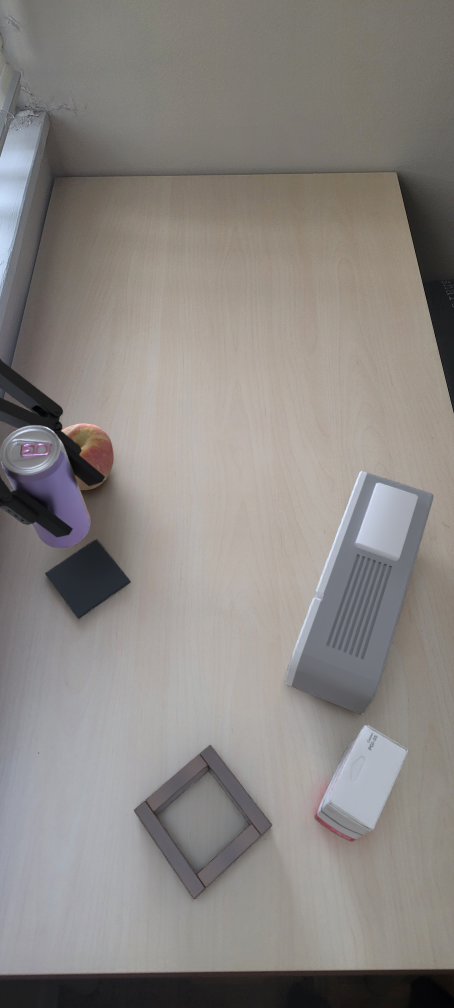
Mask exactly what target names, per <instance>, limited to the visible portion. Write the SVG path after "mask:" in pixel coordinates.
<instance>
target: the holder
mask: <svg viewBox="0 0 454 1008" xmlns="http://www.w3.org/2000/svg"><path fill="white" fill-rule="evenodd" d="M208 772H210V774H211V776H213V778H214V779H215V781H216V782H217V783H218V784H219V785H220V787H221V789H223V791H224V792H225V793H226V795H227V796H228V798H229V799H230V800H231V802H232V803H233V804H234V806H235V807H236V809H237V810H238V811H239V812H240V814H241V815H242V816H243V818H244V819H245V820H246V822H247V823H248V824H249V825H248V826H247V827H246V828H244V830H243V831H241V833H239V834H238V835H237V836H236V837H235V838H234V839H233V840H232V841H231V842H229V844H227V845H226V846H225V847H224V848H223V849H222V850H221V851H219V853H218V854H217V855H216V856H215V857H213V858H212V859H211V860H210V861H209V862H208V863H207V864H205V866H204V867H203V868H202V869H201V870H199V872H198V873H197V872H196V870H195V869H194V868H193V866H192V864H191V863H190V861H189V860H188V859H187V858H186V856H185V854H184V853H183V852H182V850H181V849H180V847H179V845H178V844H177V843H176V841H175V840H174V839H173V837H172V835H171V834H170V833H169V831H168V829H166V827H165V826H164V824H163V822H162V821H161V820H160V818H159V817H158V816H159V814H161V813H162V812H163V811H164V810H165V809H166V808H168V807H169V806H170V805H171V804H172V803H173V802H174V801H176V800H177V799H178V798H179V797H180V796H181V795H183V794H184V793H185V792H186V791H187V790H188V789H189V788H191V787H192V786H193V785H194V784H195V783H196V782H198V781H199V780H200V779H201V778H202V777H203V776H205V774H207V773H208ZM133 812H134V814H135V815H136V816H137V818H138V819H139V821H140V823H141V825H143V827H144V828H145V830H146V831H147V832H148V834H149V836H150V837H151V838H152V840H153V841H154V843H155V844H156V846H157V847H158V849H159V850H160V852H161V854H162V855H163V856H164V858H165V860H166V861H167V862H168V864H169V865H170V867H171V868H172V869H173V871H174V873H175V875H176V876H177V878H178V879H179V880H180V882H181V883H182V884H183V886H184V888H185V889H186V891H187V892H188V893H189V895H190V896H191V898H192V899H193V900H197V899H198V897H200V896H201V895H202V894H203V893H204V892H205V891H206V890H207V889H208V888H209V887H210V886H212V884H214V883H215V882H216V881H217V880H218V879H219V878H220V877H221V876H223V874H225V872H226V871H227V870H229V869H230V867H232V866H233V865H234V864H235V863H236V862H237V861H238V860H239V859H240V858H241V857H242V856H243V855H244V854H245V853H247V851H248V850H250V849H251V848H252V847H253V846H254V845H255V844H256V843H257V842H258V841H259V840H260V839H261V838H262V837H263V836H264V835H266V833H268V832H269V831H270V830H271V828H272V827H273V824H272V823H271V821H270V820H269V819H268V818H267V816H266V815H265V813H264V812H263V811H262V809H261V808H260V807H259V806H258V804H257V802H255V800H254V799H253V797H251V795H250V794H249V793H248V791H247V790H246V789H245V787H244V786H243V784H242V783H241V782H240V781H239V780H238V779H237V777H236V775H235V774H234V773H233V772H232V771H231V769H230V768H229V767H228V765H227V764H226V763H225V762H224V760H223V759H222V758H221V756H220V755H219V754H218V752H217V751H216V750H215V748H214V747H213V746H212V745H211V744H209V745H208V746H207V747H205V748H204V749H203V750H202V751H201V752H200V753H198V754H197V755H196V756H195V757H194V758H193V759H191V760H190V761H189V762H187V764H185V765H184V766H183V767H182V768H181V769H180V770H179V771H177V772H176V773H175V774H174V775H172V776H171V777H170V778H169V779H168V780H167V781H165V782H164V783H163V784H162V785H161V786H159V788H158V789H156V790H155V791H154V792H153V793H152V794H151V795H150V796H148V797H147V798H145V800H143V801H142V802H141V803H140V804H139V805H137V806H136V807H135V808H134V809H133Z"/></svg>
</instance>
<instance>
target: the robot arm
mask: <svg viewBox="0 0 454 1008" xmlns="http://www.w3.org/2000/svg"><path fill="white" fill-rule="evenodd" d="M0 389H1V390H2V391H3V392H4V393H6V394H7V395H9V396H10V397H12V398H13V399H14V400H15V401H17V402H18V403H20V404H21V405H22V406H23V407H22V406H20V405H18V404H16V403H13V402H11V401H10V400H6V399H5V398H3V397H0V422H2V423H5V424H7V425H10V426H11V427H14V428H16V429H19V428H22V427H25V426H30V425H38V426H44V427H46V428H49V429H51V430H52V431H53V432H54V433H55V434H56V435H57V436H58V438H59V439H60V440H61V442H62V443H63V445H64V448H65V451H66V453H67V456H68V459H69V462H70V464H71V467H72V470H73V472H74V475H76V476H77V477H78V478H79V479H80V480H82V481H83V482H84V483H85V484H87V485H88V486H92V485H95V484H98V483H101V482H102V481H103V480H104V478H105V476H104V475H103V474H101V473H100V472H99V471H98V470H97V469H95V468H94V467H93V466H92V465H91V464H89V463H88V462H87V461H86V460H85V459H83V458H82V457H81V456H80V455H79V454H80V453H81V451H82V449H81V448H80V446H79V445H78V444H77V443H75V442H74V441H73V440H72V439H71V438H69V437H68V436H67V435H66V434H65V433H63V432H62V430H63V424H62V422H61V421H60V419H61V417H62V416H63V414H64V409H63V407H62V406H61V405H60V404H58V403H57V402H56V401H55V400H53V399H52V398H51V397H49V396H48V395H46V393H44V392H43V391H41V389H39V388H37V386H35V385H34V384H33V383H31V382H30V381H29V380H27V379H26V378H24V377H23V376H22V375H21V374H20V373H18V372H17V371H15V370H14V369H13V368H12V367H10V366H9V365H8V364H6V363H5V362H4V361H3V360H2V359H1V358H0ZM0 509H2V510H3V511H5V512H6V513H7V514H8V515H10V516H12V517H13V518H14V519H16V520H17V521H18V522H19V523H21V524H23V525H26V526H29V525H32V524H33V523H35V522H36V523H38V524H39V525H40V526H42V527H43V528H45V529H46V530H47V531H49V532H50V533H51V534H53V535H54V536H55V537H62V536H67V535H69V534H70V533H71V531H72V530H73V528H71V527H70V526H69V525H67V524H66V523H65V522H64V521H62V520H61V519H60V518H58V517H57V516H56V515H54V514H53V513H52V512H50V511H49V510H48V509H46V508H45V507H44V506H42V505H41V504H40V503H39V502H37V501H36V500H35V499H33V498H32V497H31V496H29V495H28V494H27V493H25V492H24V491H22V490H21V489H18V490H15V491H14V490H13V491H11V489H10V488H9V487H8V485H7V484H6V483H5V481H4V479H2V477H1V476H0Z"/></svg>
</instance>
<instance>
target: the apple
mask: <svg viewBox="0 0 454 1008" xmlns="http://www.w3.org/2000/svg"><path fill="white" fill-rule="evenodd" d="M61 431H62V432H63V433H65V434H66V435H67V436H68V437H69V438H71V439H72V440H73V441H74V442H75V443H77V444H78V445H79V446H80V448H81V449H82V451H81V453H80V454H79V455H80V456H81V457H82V458H83V459H85V460H86V461H87V462H88V463H89V464H91V465H92V466H93V467H94V468H95V469H97V470H98V471H99V472H100V473H101V474H103V475H104V476H105V478H104V480H103V481H102V482H101V483H98V484H95V485H92V486H88V485H87V484H85V483H84V482H83V481H82V480H80V479H79V478H78V477H77V476H76V475H75V478H76V480H77V483H78V486H79V489H80V491H88V490H89V491H90V490H93V489H96V488H97V487H100V485H102V484H103V483H104V482H105V481H106V480H107V478H109V476H110V474H111V471H112V469H113V466H114V461H115V457H114V456H115V455H114V449H113V448H114V447H113V442H112V440H111V438H110V436H109V434H108V433H107V432H106V431H105V430H104V429H103V428H101V427H100V426H98V425H96V424H91V423H76V424H72V425H68V426H67V427H65V428H62V430H61Z"/></svg>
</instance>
